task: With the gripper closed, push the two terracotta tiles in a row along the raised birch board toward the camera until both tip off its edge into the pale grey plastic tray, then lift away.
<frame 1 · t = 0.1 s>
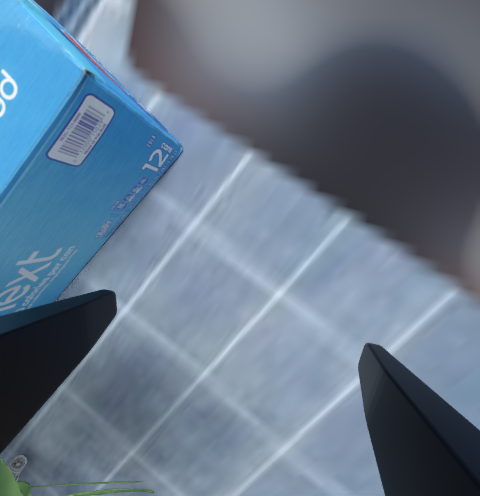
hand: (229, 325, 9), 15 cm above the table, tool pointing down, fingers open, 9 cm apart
plant cuttings: (58, 487, 30), on the table
soda box: (33, 244, 29), on the table
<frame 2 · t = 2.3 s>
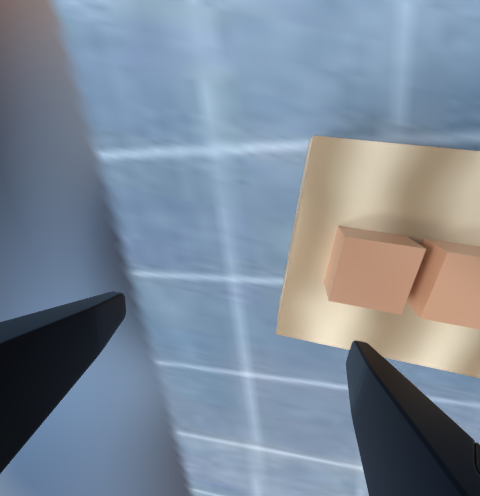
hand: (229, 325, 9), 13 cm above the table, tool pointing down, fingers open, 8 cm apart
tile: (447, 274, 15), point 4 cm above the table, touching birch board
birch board: (386, 247, 19), on the table
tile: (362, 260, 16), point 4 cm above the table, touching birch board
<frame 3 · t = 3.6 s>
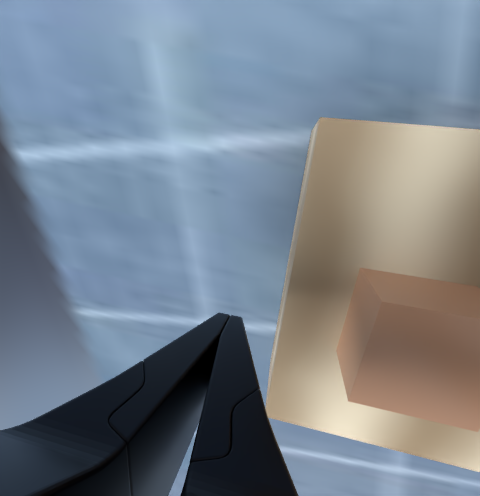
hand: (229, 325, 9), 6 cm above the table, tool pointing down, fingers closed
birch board: (424, 287, 13), on the table
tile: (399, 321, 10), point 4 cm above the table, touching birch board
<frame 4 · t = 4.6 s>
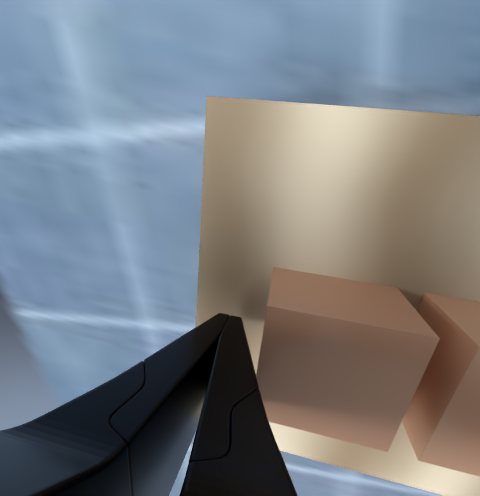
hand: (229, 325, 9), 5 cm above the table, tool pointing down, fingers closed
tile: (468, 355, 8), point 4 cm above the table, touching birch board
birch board: (364, 287, 12), on the table
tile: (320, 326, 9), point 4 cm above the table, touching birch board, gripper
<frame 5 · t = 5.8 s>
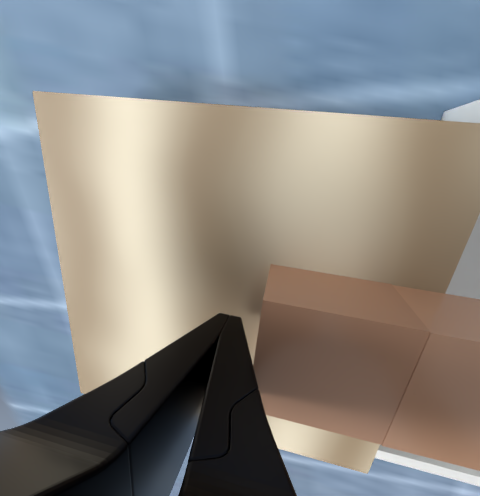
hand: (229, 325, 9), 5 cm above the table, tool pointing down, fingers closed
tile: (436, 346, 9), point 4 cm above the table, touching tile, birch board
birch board: (241, 267, 14), on the table
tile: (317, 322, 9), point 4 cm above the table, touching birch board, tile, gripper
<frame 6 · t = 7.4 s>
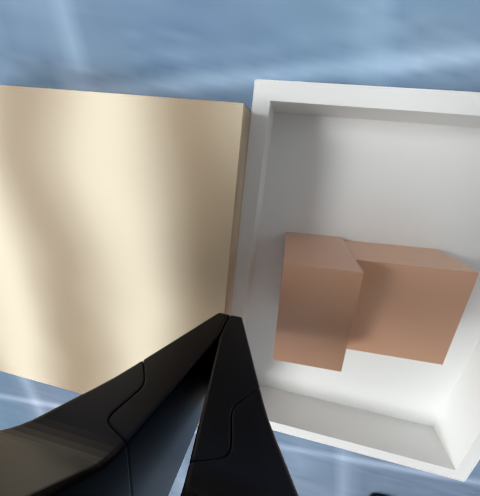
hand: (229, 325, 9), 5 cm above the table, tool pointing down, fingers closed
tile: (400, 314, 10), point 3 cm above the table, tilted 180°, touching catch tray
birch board: (121, 245, 15), on the table
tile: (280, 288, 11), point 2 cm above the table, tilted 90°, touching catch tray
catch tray: (362, 287, 13), on the table
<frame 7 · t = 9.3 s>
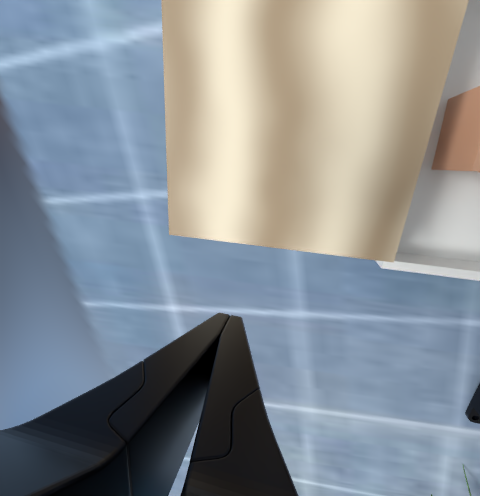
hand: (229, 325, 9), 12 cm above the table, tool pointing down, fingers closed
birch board: (287, 136, 18), on the table
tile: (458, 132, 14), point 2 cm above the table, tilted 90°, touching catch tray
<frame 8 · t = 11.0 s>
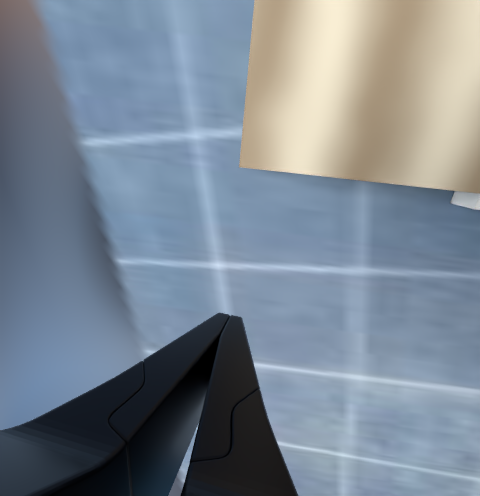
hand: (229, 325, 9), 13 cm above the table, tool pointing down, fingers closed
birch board: (372, 63, 16), on the table
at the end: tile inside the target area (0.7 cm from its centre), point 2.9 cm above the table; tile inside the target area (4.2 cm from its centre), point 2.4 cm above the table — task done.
